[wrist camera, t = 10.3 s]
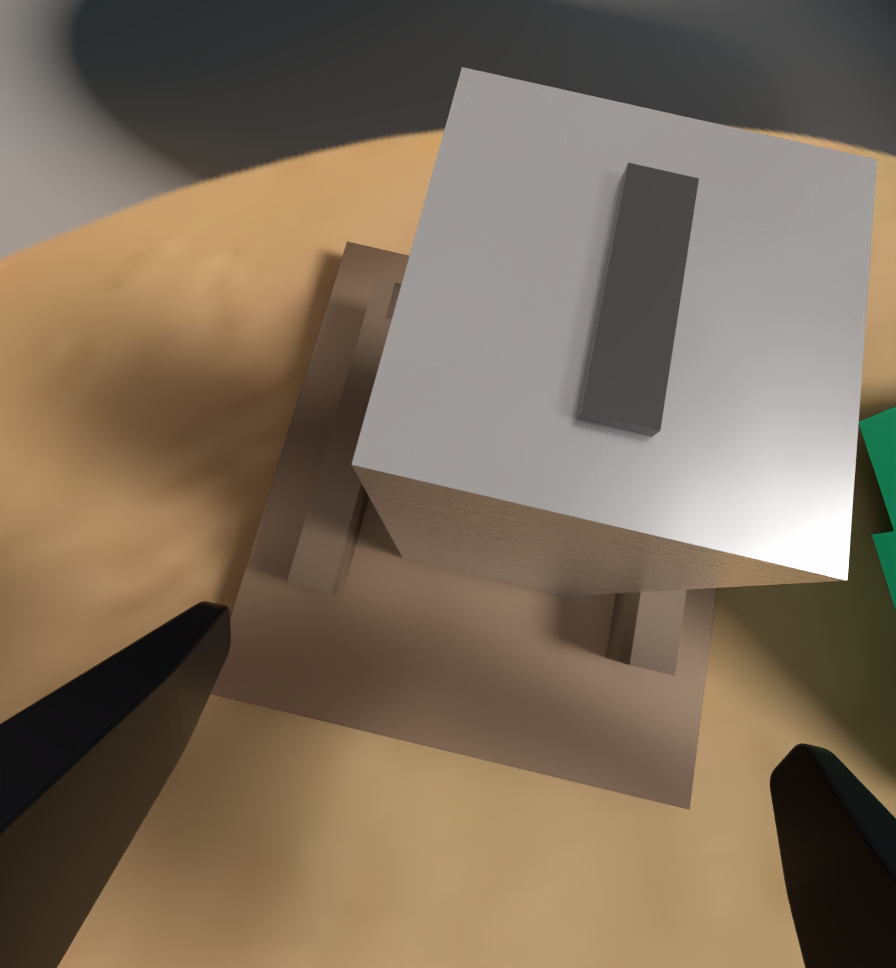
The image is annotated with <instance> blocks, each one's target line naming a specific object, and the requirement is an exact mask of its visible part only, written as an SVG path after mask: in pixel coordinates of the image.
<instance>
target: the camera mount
mask: <svg viewBox="0 0 896 968" xmlns="http://www.w3.org/2000/svg"><path fill="white" fill-rule="evenodd" d="M859 425H860V428H861V431H862V434H863V438H864V441H865V444H866V447H867V450H868V453H869V456H870V459H871V462H872V465H873V468H874V471H875V474H876V477H877V480H878V483H879V486H880V489H881V493H882V496H883V499H884V502H885V505H886V508H887V511H888V514H889V517H890V520H891V523H892V526H893V529H894V531H891V532H885V533H879V534H873V535H872V537H873V540H874V543H875V546H876V550H877V553H878V556H879V559H880V562H881V565H882V568H883V572H884V575H885V578H886V581H887V584H888V587H889V591H890V594H891V597H892V600H893V603H894V606H895V609H896V406H895V407H893V408H890V409H888V410H886V411H883V412H881V413H879V414H876V415H874V416H872V417H869V418H867V419H864V420H862V421H860V422H859Z"/></svg>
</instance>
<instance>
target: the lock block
mask: <svg viewBox="0 0 896 968" xmlns="http://www.w3.org/2000/svg"><path fill="white" fill-rule="evenodd" d="M876 169H877V159H872V158H868V157H863V156H859V155H854V154H850V153H845V152H841V151H836V150H832V149H827V148H823V147H818V146H814V145H809V144H805V143H800V142H796V141H791V140H787V139H782V138H778V137H773V136H769V135H764V134H760V133H755V132H751V131H746V130H742V129H737V128H733V127H728V126H724V125H719V124H715V123H710V122H706V121H701V120H696V119H692V118H687V117H683V116H679V115H674V114H670V113H665V112H661V111H656V110H652V109H647V108H643V107H638V106H634V105H629V104H625V103H620V102H616V101H611V100H607V99H602V98H598V97H594V96H589V95H585V94H580V93H575V92H571V91H567V90H562V89H558V88H553V87H549V86H544V85H540V84H534V83H531V82H526V81H521V80H517V79H513V78H508V77H504V76H499V75H494V74H490V73H486V72H481V71H477V70H472V69H468V68H463V67H462V70H461V73H460V77H459V80H458V84H457V87H456V91H455V95H454V98H453V102H452V105H451V109H450V113H449V116H448V120H447V124H446V127H445V131H444V134H443V138H442V141H441V145H440V149H439V152H438V156H437V159H436V163H435V166H434V170H433V174H432V177H431V181H430V184H429V188H428V192H427V195H426V199H425V202H424V206H423V210H422V213H421V217H420V220H419V224H418V228H417V231H416V235H415V238H414V242H413V245H412V249H411V253H410V256H409V260H408V263H407V267H406V271H405V274H404V278H403V281H402V285H401V289H400V292H399V296H398V299H397V303H396V307H395V310H394V314H393V317H392V321H391V324H390V328H389V332H388V335H387V339H386V342H385V346H384V350H383V353H382V357H381V360H380V364H379V368H378V371H377V375H376V378H375V382H374V386H373V389H372V393H371V396H370V400H369V403H368V407H367V411H366V414H365V418H364V421H363V425H362V429H361V432H360V436H359V439H358V443H357V447H356V450H355V454H354V457H353V461H352V467H353V468H354V470H355V472H356V474H357V476H358V477H359V479H360V481H361V483H362V485H363V487H364V488H365V490H366V492H367V494H368V496H369V497H370V499H371V501H372V503H373V505H374V507H375V508H376V510H377V512H378V514H379V516H380V517H381V519H382V521H383V523H384V525H385V527H386V528H387V530H388V532H389V534H390V536H391V537H392V539H393V541H394V543H395V545H396V547H397V548H398V550H399V552H400V554H401V556H402V558H404V559H408V560H412V561H417V562H421V563H425V564H429V565H434V566H438V567H442V568H446V569H450V570H455V571H459V572H463V573H467V574H472V575H476V576H480V577H484V578H489V579H493V580H497V581H501V582H506V583H510V584H514V585H518V586H523V587H527V588H531V589H535V590H540V591H544V592H548V593H552V594H557V595H561V596H579V595H597V594H615V593H633V592H651V591H669V590H686V589H704V588H722V587H740V586H758V585H776V584H794V583H812V582H829V581H847V579H848V565H849V551H850V537H851V522H852V508H853V494H854V480H855V466H856V452H857V437H858V423H859V409H860V395H861V381H862V367H863V353H864V338H865V324H866V310H867V296H868V282H869V268H870V253H871V239H872V225H873V211H874V197H875V183H876Z"/></svg>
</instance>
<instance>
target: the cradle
mask: <svg viewBox="0 0 896 968" xmlns="http://www.w3.org/2000/svg"><path fill="white" fill-rule="evenodd" d="M408 260H409V256H408V255H404V254H399V253H395V252H390V251H386V250H382V249H377V248H373V247H369V246H364V245H360V244H355V243H351V242H347V244H346V247H345V250H344V253H343V257H342V260H341V263H340V266H339V269H338V273H337V276H336V279H335V282H334V286H333V289H332V292H331V295H330V298H329V302H328V305H327V308H326V311H325V315H324V318H323V321H322V324H321V328H320V331H319V334H318V337H317V340H316V344H315V347H314V350H313V353H312V357H311V360H310V363H309V366H308V369H307V373H306V376H305V379H304V382H303V386H302V389H301V392H300V395H299V399H298V402H297V405H296V408H295V411H294V415H293V418H292V421H291V424H290V428H289V431H288V434H287V437H286V440H285V444H284V447H283V450H282V453H281V457H280V460H279V463H278V466H277V470H276V473H275V476H274V479H273V482H272V486H271V489H270V492H269V495H268V499H267V502H266V505H265V508H264V511H263V515H262V518H261V521H260V524H259V528H258V531H257V534H256V537H255V540H254V544H253V547H252V550H251V553H250V557H249V560H248V563H247V566H246V570H245V573H244V576H243V579H242V582H241V586H240V589H239V592H238V595H237V599H236V602H235V605H234V608H233V611H232V615H231V618H230V625H231V646H230V650H229V653H228V656H227V658H226V661H225V663H224V665H223V667H222V669H221V672H220V674H219V676H218V678H217V680H216V683H215V685H214V687H213V689H212V691H211V694H214V695H218V696H222V697H226V698H230V699H234V700H238V701H243V702H247V703H251V704H255V705H259V706H263V707H267V708H272V709H276V710H280V711H284V712H288V713H292V714H296V715H300V716H305V717H309V718H313V719H317V720H321V721H325V722H329V723H334V724H338V725H342V726H346V727H350V728H354V729H358V730H363V731H367V732H371V733H375V734H379V735H383V736H387V737H391V738H396V739H400V740H404V741H408V742H412V743H416V744H420V745H425V746H429V747H433V748H437V749H441V750H445V751H449V752H454V753H458V754H462V755H466V756H470V757H474V758H478V759H483V760H487V761H491V762H495V763H499V764H503V765H507V766H511V767H516V768H520V769H524V770H528V771H532V772H536V773H540V774H545V775H549V776H553V777H557V778H561V779H565V780H569V781H574V782H578V783H582V784H586V785H590V786H594V787H598V788H602V789H607V790H611V791H615V792H619V793H623V794H627V795H631V796H636V797H640V798H644V799H648V800H652V801H656V802H660V803H665V804H669V805H673V806H677V807H681V808H685V809H690V801H691V793H692V785H693V776H694V768H695V760H696V752H697V744H698V736H699V728H700V719H701V711H702V703H703V695H704V687H705V679H706V671H707V662H708V654H709V646H710V638H711V630H712V622H713V614H714V605H715V597H716V589H717V588H704V589H686V590H669V591H651V592H633V593H615V594H597V595H579V596H561V595H557V594H552V593H548V592H544V591H540V590H535V589H531V588H527V587H523V586H518V585H514V584H510V583H506V582H501V581H497V580H493V579H489V578H484V577H480V576H476V575H472V574H467V573H463V572H459V571H455V570H450V569H446V568H442V567H438V566H434V565H429V564H425V563H421V562H417V561H412V560H408V559H404V558H402V556H401V554H400V552H399V550H398V548H397V547H396V545H395V543H394V541H393V539H392V537H391V536H390V534H389V532H388V530H387V528H386V527H385V525H384V523H383V521H382V519H381V517H380V516H379V514H378V512H377V510H376V508H375V507H374V505H373V503H372V501H371V499H370V497H369V496H368V494H367V492H366V490H365V488H364V487H363V485H362V483H361V481H360V479H359V477H358V476H357V474H356V472H355V470H354V468H353V467H352V461H353V457H354V454H355V450H356V447H357V443H358V439H359V436H360V432H361V429H362V425H363V421H364V418H365V414H366V411H367V407H368V403H369V400H370V396H371V393H372V389H373V386H374V382H375V378H376V375H377V371H378V368H379V364H380V360H381V357H382V353H383V350H384V346H385V342H386V339H387V335H388V332H389V328H390V324H391V321H392V317H393V314H394V310H395V307H396V303H397V299H398V296H399V292H400V289H401V285H402V281H403V278H404V274H405V271H406V267H407V263H408Z"/></svg>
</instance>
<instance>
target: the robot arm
mask: <svg viewBox="0 0 896 968" xmlns="http://www.w3.org/2000/svg"><path fill="white" fill-rule="evenodd" d="M230 646H231V625H230V610H229V608H228V607H227V606H225V605H220V604H216V603H212V602H207V601H203V602H200V603H198V604H196V605H194V606H193V607H191V608H189V609H188V610H186V611H184V612H183V613H181V614H179V615H178V616H176V617H175V618H173V619H171V620H170V621H168V622H166V623H165V624H163V625H161V626H160V627H158V628H157V629H155V630H153V631H152V632H150V633H148V634H147V635H145V636H143V637H142V638H140V639H138V640H137V641H135V642H134V643H132V644H130V645H129V646H127V647H125V648H124V649H122V650H120V651H119V652H117V653H116V654H114V655H112V656H111V657H109V658H107V659H106V660H104V661H102V662H101V663H99V664H98V665H96V666H94V667H93V668H91V669H89V670H88V671H86V672H84V673H83V674H81V675H79V676H78V677H76V678H75V679H73V680H71V681H70V682H68V683H66V684H65V685H63V686H61V687H60V688H58V689H57V690H55V691H53V692H52V693H50V694H48V695H47V696H45V697H43V698H42V699H40V700H39V701H37V702H35V703H34V704H32V705H30V706H29V707H27V708H25V709H24V710H22V711H20V712H19V713H17V714H16V715H14V716H12V717H11V718H9V719H7V720H6V721H4V722H2V723H1V724H0V968H57V967H58V965H59V963H60V962H61V960H62V958H63V956H64V955H65V953H66V951H67V950H68V948H69V946H70V945H71V943H72V941H73V939H74V938H75V936H76V934H77V933H78V931H79V929H80V928H81V926H82V924H83V922H84V921H85V919H86V917H87V916H88V914H89V912H90V911H91V909H92V907H93V905H94V904H95V902H96V900H97V899H98V897H99V895H100V894H101V892H102V890H103V888H104V887H105V885H106V883H107V882H108V880H109V878H110V876H111V875H112V873H113V871H114V870H115V868H116V866H117V865H118V863H119V861H120V859H121V858H122V856H123V854H124V853H125V851H126V849H127V848H128V846H129V844H130V842H131V841H132V839H133V837H134V836H135V834H136V832H137V831H138V829H139V827H140V825H141V824H142V822H143V820H144V819H145V817H146V815H147V814H148V812H149V810H150V808H151V807H152V805H153V803H154V802H155V800H156V798H157V796H158V795H159V793H160V791H161V790H162V788H163V786H164V785H165V783H166V781H167V779H168V778H169V776H170V774H171V773H172V771H173V769H174V768H175V766H176V764H177V762H178V761H179V759H180V757H181V755H182V753H183V751H184V750H185V748H186V746H187V744H188V741H189V739H190V737H191V735H192V733H193V731H194V729H195V727H196V724H197V722H198V720H199V718H200V716H201V713H202V711H203V709H204V707H205V705H206V702H207V700H208V698H209V696H210V694H211V691H212V689H213V687H214V685H215V683H216V680H217V678H218V676H219V674H220V672H221V669H222V667H223V665H224V663H225V661H226V658H227V656H228V653H229V650H230ZM770 790H771V797H772V803H773V810H774V816H775V823H776V829H777V835H778V842H779V848H780V855H781V861H782V867H783V874H784V880H785V885H786V890H787V895H788V900H789V904H790V909H791V913H792V917H793V921H794V925H795V929H796V933H797V937H798V941H799V945H800V949H801V953H802V957H803V961H804V964H805V968H896V818H895V817H894V816H893V815H892V814H891V813H890V812H889V811H888V810H887V809H886V808H885V807H884V806H883V805H882V804H881V803H880V802H879V801H878V800H877V798H876V797H875V796H874V795H873V794H872V793H871V792H870V791H869V790H868V789H867V788H866V787H865V786H864V785H863V784H862V783H861V782H860V781H859V780H858V779H857V778H856V777H855V776H854V774H853V773H852V772H851V771H850V770H849V769H848V768H847V767H846V766H845V765H844V764H843V763H842V762H841V761H840V760H839V759H838V758H837V757H836V756H835V755H834V754H833V753H832V752H830V751H829V750H827V749H824V748H821V747H817V746H813V745H808V744H802V743H801V744H798V745H796V746H795V747H794V748H793V749H792V750H791V751H790V752H789V753H788V754H787V755H786V757H785V758H784V759H783V760H782V761H781V762H780V763H779V764H778V765H777V767H776V768H775V769H774V770H773V772H772V774H771V778H770Z"/></svg>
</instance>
